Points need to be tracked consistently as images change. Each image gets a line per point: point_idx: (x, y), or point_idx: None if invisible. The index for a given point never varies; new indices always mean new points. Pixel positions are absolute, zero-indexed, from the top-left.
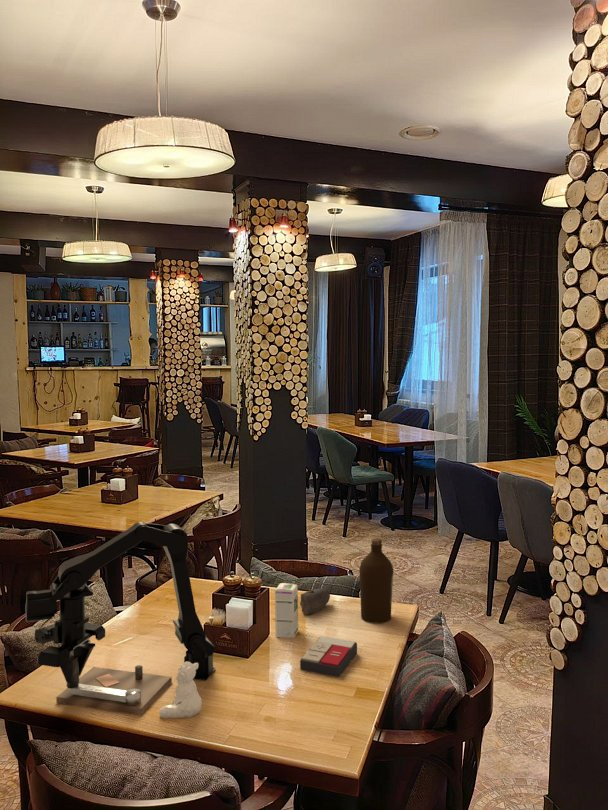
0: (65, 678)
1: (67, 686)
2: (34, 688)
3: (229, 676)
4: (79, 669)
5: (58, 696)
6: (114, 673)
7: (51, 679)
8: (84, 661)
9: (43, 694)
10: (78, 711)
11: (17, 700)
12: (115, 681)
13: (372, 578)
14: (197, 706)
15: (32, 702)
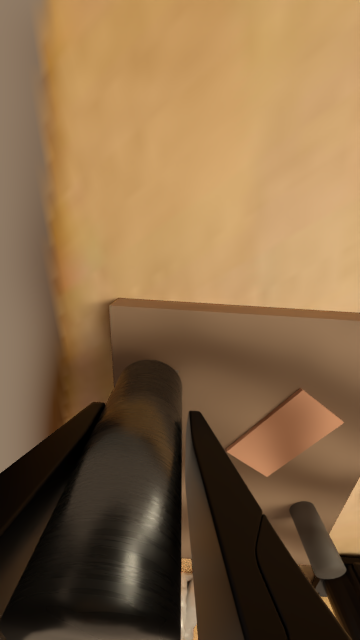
0: (69, 423)
1: (120, 375)
2: (234, 66)
3: (330, 607)
4: (188, 483)
5: (115, 313)
6: (349, 434)
7: (354, 115)
8: (197, 620)
9: (176, 183)
10: (93, 400)
11: (77, 48)
12: (272, 464)
13: None
14: None
15: (89, 173)
